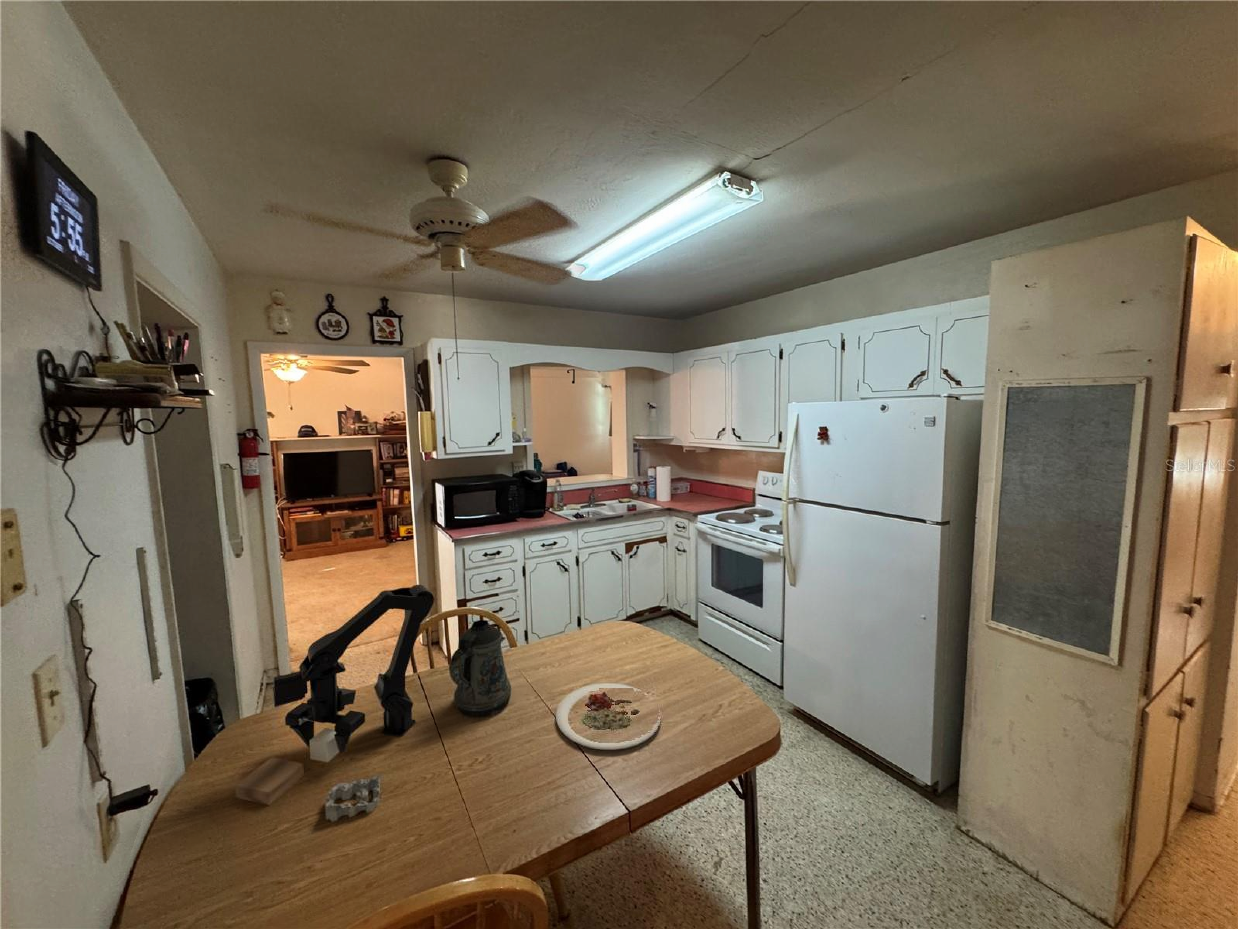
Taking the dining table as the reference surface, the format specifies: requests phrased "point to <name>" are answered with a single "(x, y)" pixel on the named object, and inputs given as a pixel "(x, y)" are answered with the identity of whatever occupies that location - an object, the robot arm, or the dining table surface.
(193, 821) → the dining table surface
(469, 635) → the beer stein
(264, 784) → the walnut base
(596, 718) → the plated food
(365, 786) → the egg carton
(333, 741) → the cream block
